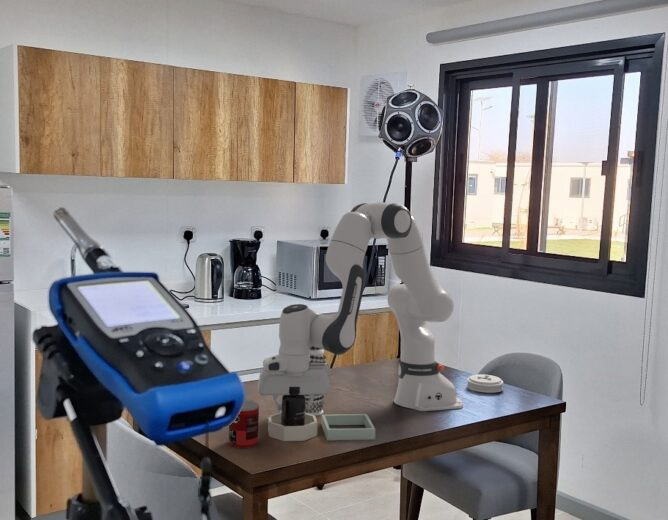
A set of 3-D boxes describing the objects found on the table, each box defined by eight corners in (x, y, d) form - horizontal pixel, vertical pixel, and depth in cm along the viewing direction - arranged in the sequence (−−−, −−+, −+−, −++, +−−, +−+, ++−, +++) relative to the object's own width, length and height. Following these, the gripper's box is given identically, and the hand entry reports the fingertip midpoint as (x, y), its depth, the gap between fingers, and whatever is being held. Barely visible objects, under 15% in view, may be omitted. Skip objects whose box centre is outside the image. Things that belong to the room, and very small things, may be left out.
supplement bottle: (301, 430, 206) (302, 389, 205) (278, 428, 207) (278, 387, 206) (307, 423, 213) (308, 382, 211) (284, 421, 214) (285, 381, 213)
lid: (497, 385, 268) (498, 372, 267) (506, 395, 255) (507, 381, 255) (463, 385, 268) (464, 371, 267) (470, 394, 255) (471, 380, 255)
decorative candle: (289, 410, 231) (291, 332, 228) (313, 405, 236) (315, 329, 234) (306, 418, 223) (308, 337, 221) (330, 413, 229) (332, 334, 226)
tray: (366, 423, 220) (366, 413, 220) (375, 439, 207) (375, 429, 206) (321, 424, 218) (321, 414, 218) (327, 440, 205) (327, 429, 204)
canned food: (229, 438, 204) (230, 400, 203) (258, 438, 204) (259, 400, 203) (227, 448, 196) (228, 408, 195) (257, 448, 197) (258, 408, 196)
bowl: (313, 424, 218) (313, 411, 217) (318, 440, 204) (319, 426, 204) (267, 425, 216) (267, 412, 216) (269, 441, 202) (269, 427, 202)
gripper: (329, 359, 213) (327, 405, 214) (258, 359, 210) (257, 406, 211) (332, 364, 206) (330, 412, 208) (258, 365, 204) (258, 413, 205)
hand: (293, 409), depth 210 cm, fingers closed on supplement bottle, 7 cm apart
